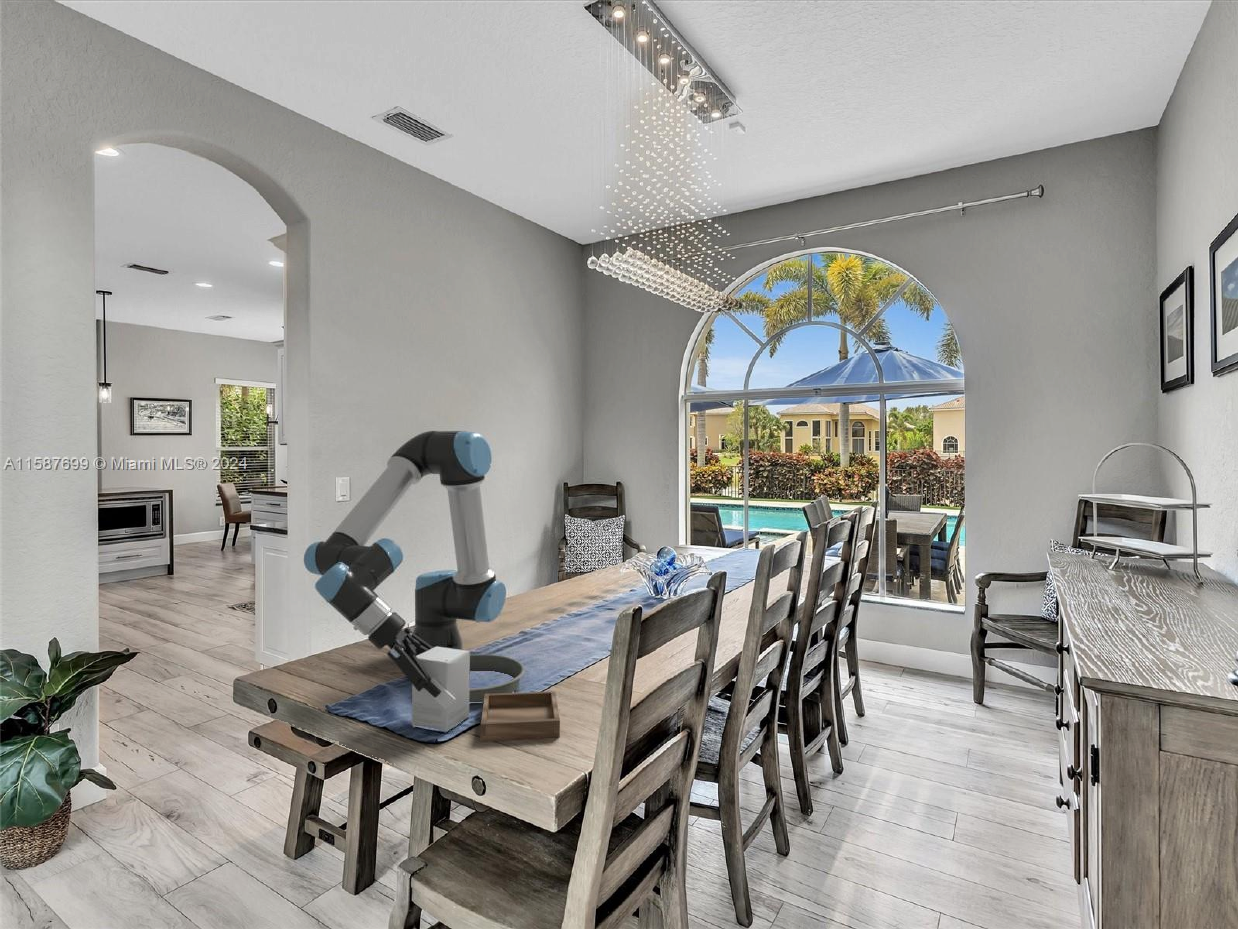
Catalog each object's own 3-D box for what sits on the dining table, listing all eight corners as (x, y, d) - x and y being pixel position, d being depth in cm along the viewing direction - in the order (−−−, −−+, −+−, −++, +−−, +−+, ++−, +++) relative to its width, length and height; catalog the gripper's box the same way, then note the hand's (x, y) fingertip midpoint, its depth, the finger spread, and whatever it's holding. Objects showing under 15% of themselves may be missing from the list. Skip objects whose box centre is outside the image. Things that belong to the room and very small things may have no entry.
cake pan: (403, 688, 156) (403, 670, 156) (484, 664, 175) (484, 648, 175) (462, 717, 140) (463, 697, 140) (545, 687, 159) (545, 669, 159)
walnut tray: (484, 709, 144) (484, 694, 144) (554, 706, 147) (555, 691, 147) (480, 741, 129) (480, 724, 128) (559, 737, 131) (559, 720, 131)
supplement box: (470, 717, 140) (471, 650, 139) (446, 734, 131) (447, 662, 131) (435, 711, 143) (436, 645, 142) (410, 727, 134) (411, 657, 134)
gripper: (378, 621, 146) (446, 684, 149) (352, 654, 122) (433, 729, 125) (403, 597, 147) (470, 661, 149) (381, 626, 123) (461, 701, 126)
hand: (453, 692), depth 137 cm, fingers closed on supplement box, 12 cm apart
